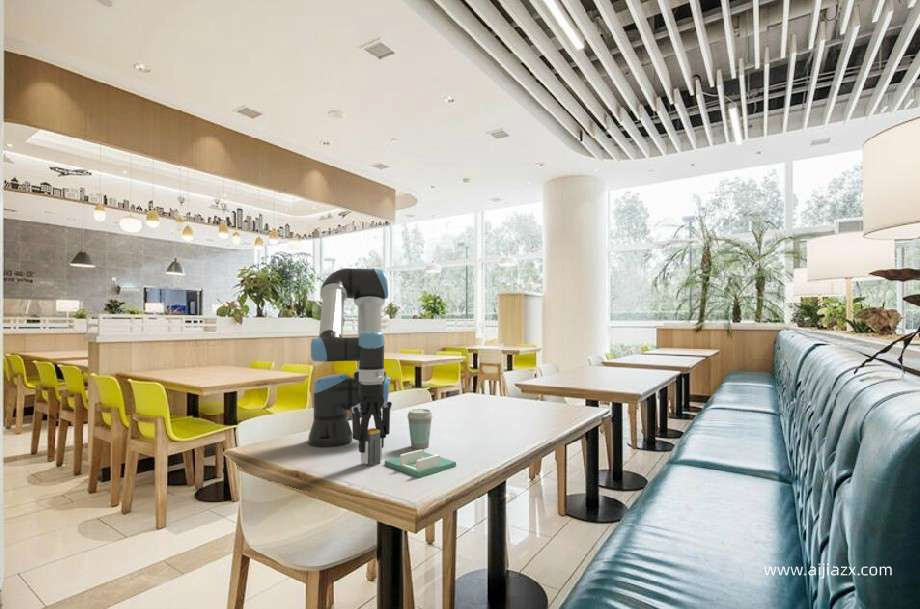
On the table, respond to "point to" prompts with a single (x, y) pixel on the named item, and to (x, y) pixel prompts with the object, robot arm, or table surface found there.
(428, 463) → the board
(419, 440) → the coffee cup
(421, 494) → the table surface
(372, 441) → the plug
